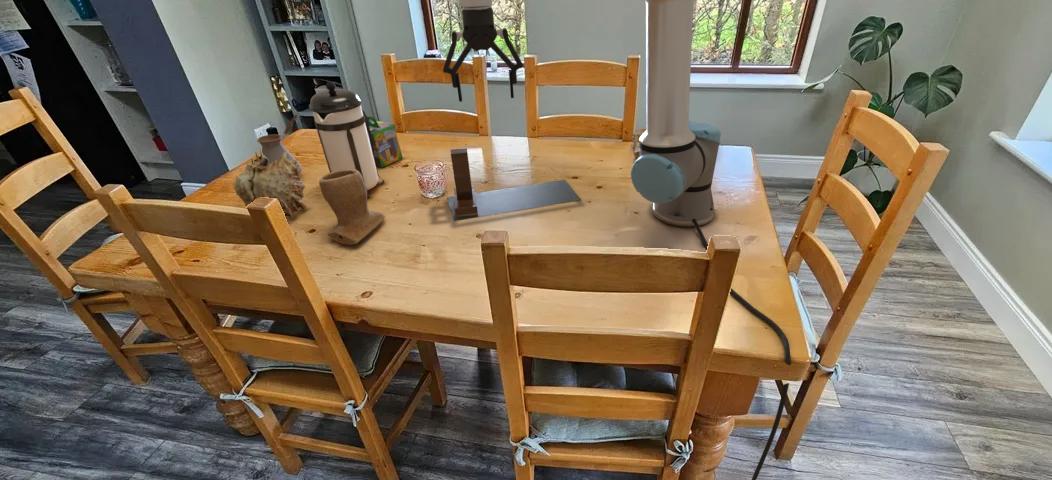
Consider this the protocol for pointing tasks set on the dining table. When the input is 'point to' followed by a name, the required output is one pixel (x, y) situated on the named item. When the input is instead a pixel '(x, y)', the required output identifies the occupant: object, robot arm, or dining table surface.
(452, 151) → the brown upright slab stand
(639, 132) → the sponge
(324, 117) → the coffee press
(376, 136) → the chalk box
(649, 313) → the dining table surface
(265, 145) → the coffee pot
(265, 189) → the seashell
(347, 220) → the clay platform pipe
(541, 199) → the slate board
